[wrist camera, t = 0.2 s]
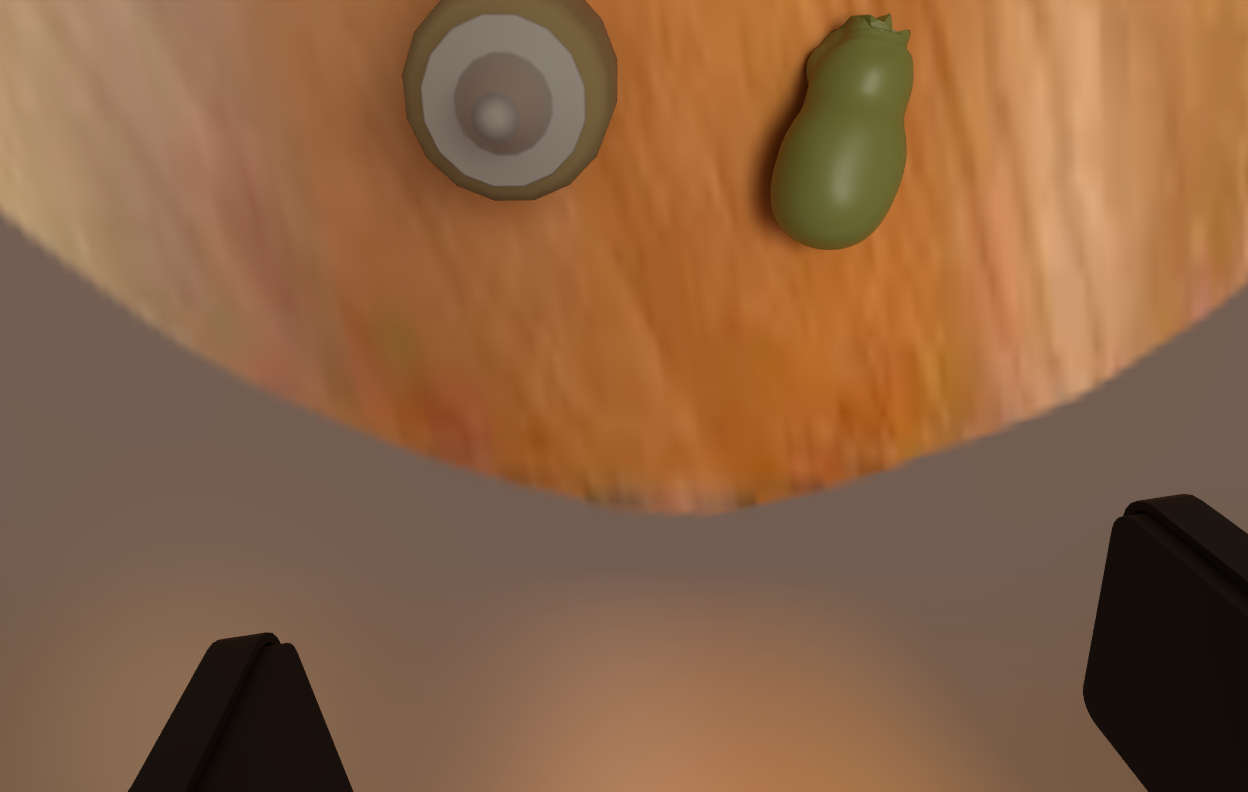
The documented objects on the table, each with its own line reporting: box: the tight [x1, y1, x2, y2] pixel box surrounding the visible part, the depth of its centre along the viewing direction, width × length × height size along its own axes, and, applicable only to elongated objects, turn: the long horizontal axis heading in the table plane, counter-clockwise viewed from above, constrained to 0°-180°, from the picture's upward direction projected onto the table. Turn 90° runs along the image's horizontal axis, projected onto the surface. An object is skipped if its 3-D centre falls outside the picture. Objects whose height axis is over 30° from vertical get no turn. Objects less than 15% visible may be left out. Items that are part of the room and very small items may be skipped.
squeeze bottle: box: [402, 0, 617, 201], centre depth 27 cm, size 8×8×18 cm
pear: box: [770, 14, 913, 250], centre depth 35 cm, size 6×5×10 cm
